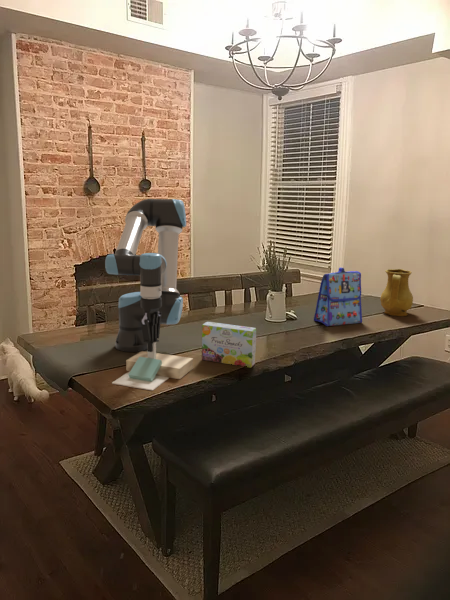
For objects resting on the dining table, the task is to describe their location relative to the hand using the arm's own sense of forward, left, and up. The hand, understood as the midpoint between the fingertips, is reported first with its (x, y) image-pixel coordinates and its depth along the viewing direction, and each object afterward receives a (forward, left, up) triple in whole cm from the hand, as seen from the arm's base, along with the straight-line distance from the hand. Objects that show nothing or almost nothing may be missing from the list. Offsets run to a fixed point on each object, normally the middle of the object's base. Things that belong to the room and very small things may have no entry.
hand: (151, 359), depth 186 cm
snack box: (+22, +23, -6) cm, 32 cm away
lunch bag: (+54, +103, -6) cm, 116 cm away
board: (+1, +5, -5) cm, 7 cm away
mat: (0, -8, -5) cm, 10 cm away
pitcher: (+81, +134, -6) cm, 156 cm away
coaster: (0, -4, -3) cm, 5 cm away
